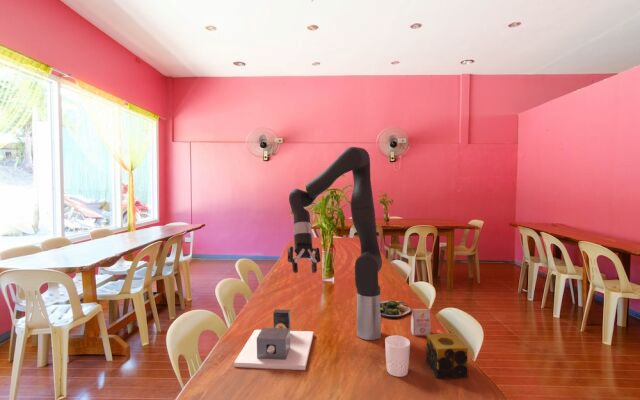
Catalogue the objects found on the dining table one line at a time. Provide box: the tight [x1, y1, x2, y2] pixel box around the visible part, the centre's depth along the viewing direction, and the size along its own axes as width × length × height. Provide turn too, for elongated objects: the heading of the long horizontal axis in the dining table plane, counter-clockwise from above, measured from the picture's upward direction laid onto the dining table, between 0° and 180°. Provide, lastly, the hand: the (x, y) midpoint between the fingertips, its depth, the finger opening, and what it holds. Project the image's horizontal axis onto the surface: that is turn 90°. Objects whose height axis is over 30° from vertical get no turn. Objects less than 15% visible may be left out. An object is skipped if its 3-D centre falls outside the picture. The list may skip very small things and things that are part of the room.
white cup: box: [384, 334, 411, 378], centre depth 106 cm, size 8×8×10 cm
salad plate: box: [380, 300, 412, 320], centre depth 156 cm, size 19×18×5 cm
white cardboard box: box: [410, 308, 432, 337], centre depth 131 cm, size 4×7×10 cm, turn 90°
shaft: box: [267, 309, 291, 354], centre depth 120 cm, size 6×20×9 cm, turn 175°
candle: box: [425, 332, 469, 380], centre depth 106 cm, size 10×10×10 cm
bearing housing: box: [257, 327, 291, 360], centre depth 115 cm, size 10×8×7 cm
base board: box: [233, 329, 314, 371], centre depth 120 cm, size 24×24×2 cm
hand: (305, 272), depth 133 cm, fingers open, 8 cm apart
